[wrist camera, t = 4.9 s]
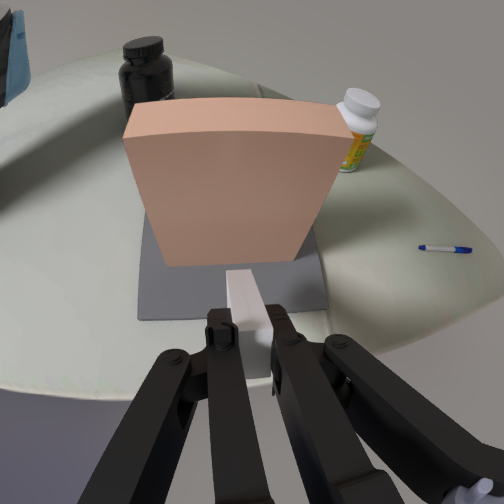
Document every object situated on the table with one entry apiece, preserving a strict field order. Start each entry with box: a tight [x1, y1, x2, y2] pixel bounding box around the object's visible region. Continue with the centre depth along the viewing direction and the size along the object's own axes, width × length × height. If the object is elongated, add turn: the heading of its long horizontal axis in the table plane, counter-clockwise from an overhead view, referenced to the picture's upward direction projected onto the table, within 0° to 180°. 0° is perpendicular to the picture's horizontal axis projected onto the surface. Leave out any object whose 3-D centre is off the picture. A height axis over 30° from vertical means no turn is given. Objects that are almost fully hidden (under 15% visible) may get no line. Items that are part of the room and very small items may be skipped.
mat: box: [137, 210, 329, 321], centre depth 27 cm, size 22×16×1 cm
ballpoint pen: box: [419, 245, 472, 253], centre depth 28 cm, size 10×1×1 cm, turn 92°
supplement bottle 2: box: [336, 88, 381, 172], centre depth 28 cm, size 5×5×10 cm
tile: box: [122, 97, 355, 267], centre depth 18 cm, size 3×11×14 cm, turn 96°
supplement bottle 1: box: [118, 36, 175, 121], centre depth 28 cm, size 7×7×12 cm
